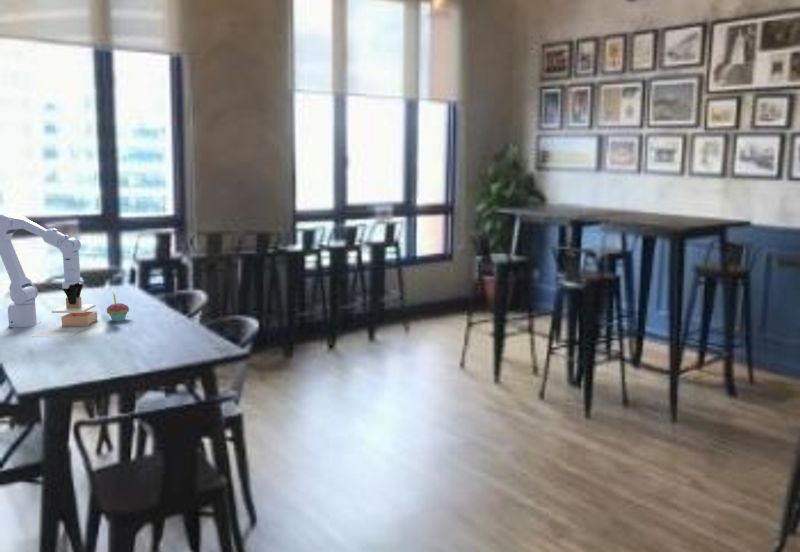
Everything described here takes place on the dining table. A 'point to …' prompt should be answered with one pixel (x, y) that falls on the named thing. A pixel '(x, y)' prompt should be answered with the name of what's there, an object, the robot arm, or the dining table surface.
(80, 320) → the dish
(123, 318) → the cupcake
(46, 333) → the mat
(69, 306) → the lid
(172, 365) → the dining table surface
